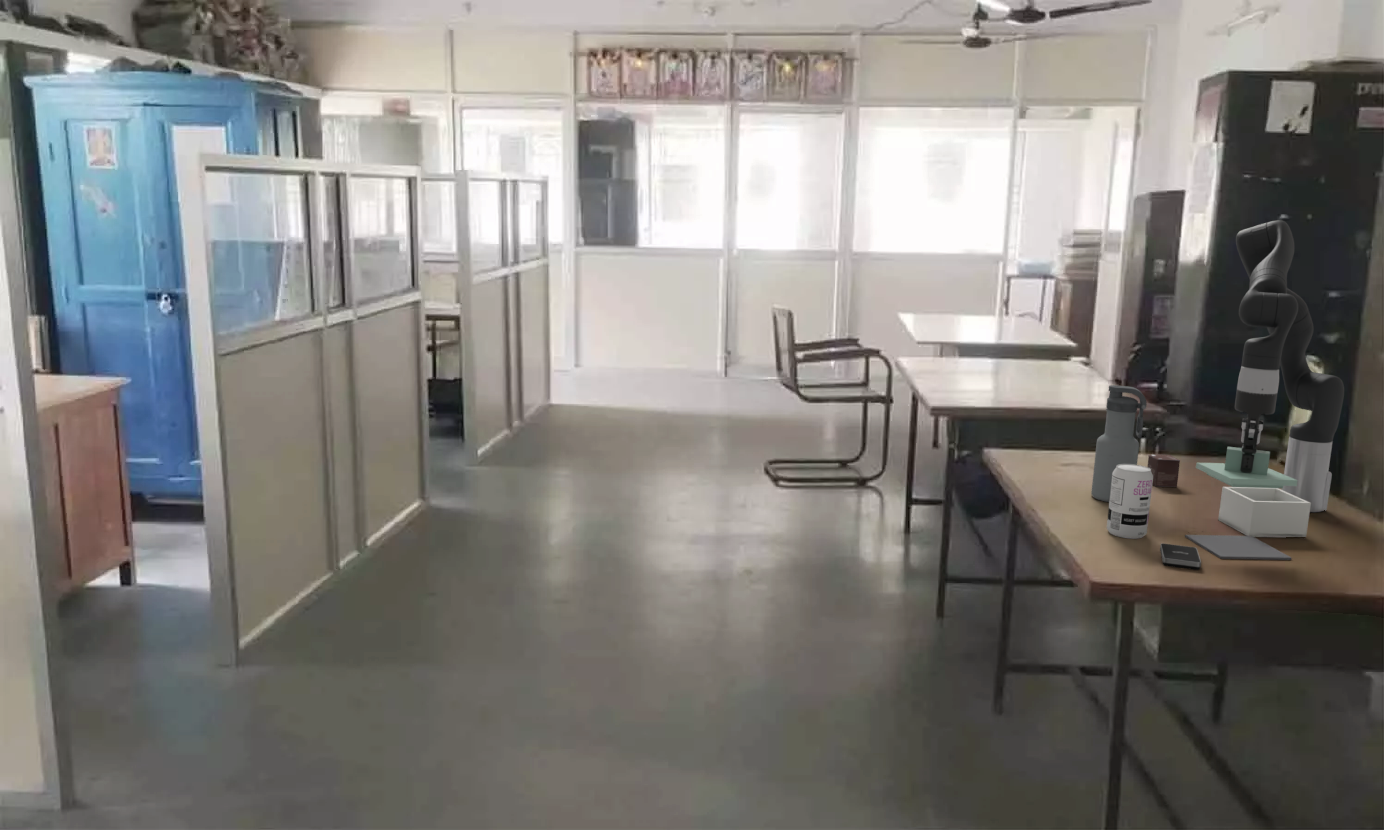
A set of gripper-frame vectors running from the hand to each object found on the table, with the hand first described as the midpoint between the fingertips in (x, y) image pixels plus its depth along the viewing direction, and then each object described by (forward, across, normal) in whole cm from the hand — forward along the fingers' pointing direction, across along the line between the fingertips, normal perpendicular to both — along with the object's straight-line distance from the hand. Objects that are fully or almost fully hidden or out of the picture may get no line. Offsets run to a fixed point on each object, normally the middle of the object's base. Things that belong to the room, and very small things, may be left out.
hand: (1246, 469), depth 229 cm
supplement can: (+17, -2, +22) cm, 28 cm away
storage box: (+17, +20, -5) cm, 27 cm away
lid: (+1, 0, 0) cm, 1 cm away
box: (+17, +53, +19) cm, 58 cm away
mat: (+17, 0, 0) cm, 17 cm away
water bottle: (+17, +29, +28) cm, 44 cm away
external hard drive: (+18, -16, +10) cm, 26 cm away
